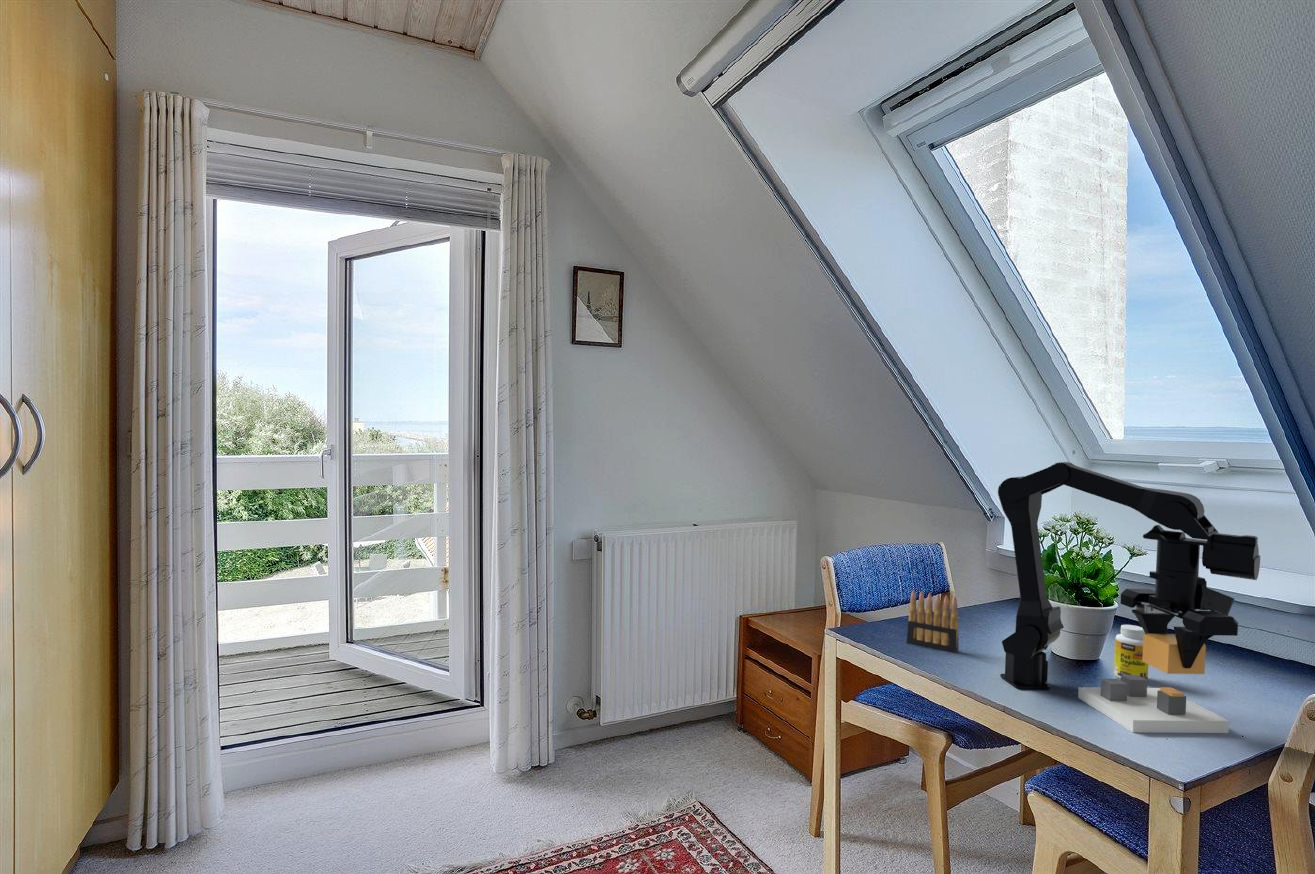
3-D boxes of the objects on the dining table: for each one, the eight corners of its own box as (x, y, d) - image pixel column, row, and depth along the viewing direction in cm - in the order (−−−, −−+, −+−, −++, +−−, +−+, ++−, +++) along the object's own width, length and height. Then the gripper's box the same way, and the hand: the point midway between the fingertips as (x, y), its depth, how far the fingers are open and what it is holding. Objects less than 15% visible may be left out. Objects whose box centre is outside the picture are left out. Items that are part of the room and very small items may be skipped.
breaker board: (1132, 732, 114) (1134, 701, 114) (1078, 697, 128) (1079, 670, 128) (1228, 733, 115) (1229, 702, 115) (1163, 698, 129) (1165, 671, 129)
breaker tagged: (1168, 714, 117) (1169, 693, 116) (1156, 707, 119) (1157, 687, 119) (1185, 714, 117) (1186, 693, 117) (1173, 707, 119) (1174, 687, 119)
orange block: (1167, 673, 115) (1168, 644, 115) (1142, 661, 120) (1143, 633, 120) (1204, 673, 115) (1205, 644, 115) (1177, 661, 121) (1178, 634, 121)
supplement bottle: (1114, 680, 138) (1116, 628, 137) (1112, 671, 142) (1114, 621, 142) (1149, 686, 135) (1151, 633, 135) (1146, 677, 140) (1148, 626, 139)
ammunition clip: (958, 651, 153) (960, 596, 153) (956, 653, 152) (958, 598, 151) (908, 641, 160) (910, 588, 159) (906, 643, 158) (907, 589, 158)
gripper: (1274, 582, 108) (1269, 683, 109) (1180, 558, 127) (1176, 644, 127) (1204, 581, 108) (1199, 682, 108) (1120, 557, 126) (1116, 643, 127)
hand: (1172, 661), depth 118 cm, fingers closed on orange block, 6 cm apart
